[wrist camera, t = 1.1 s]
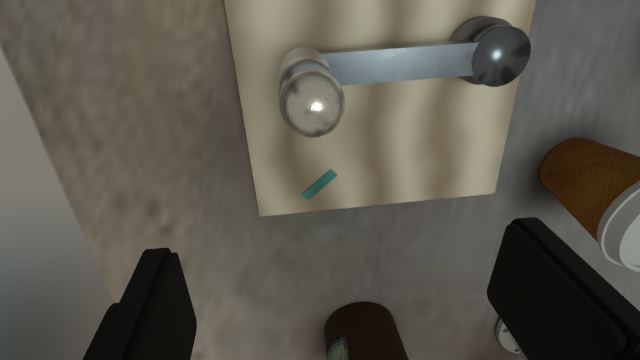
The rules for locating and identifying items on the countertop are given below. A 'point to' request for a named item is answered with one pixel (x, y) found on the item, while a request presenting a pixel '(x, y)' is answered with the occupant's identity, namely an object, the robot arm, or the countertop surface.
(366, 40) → the lever board
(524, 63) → the lever
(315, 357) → the countertop surface
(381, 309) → the olive oil
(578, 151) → the disposable coffee cup
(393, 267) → the countertop surface
